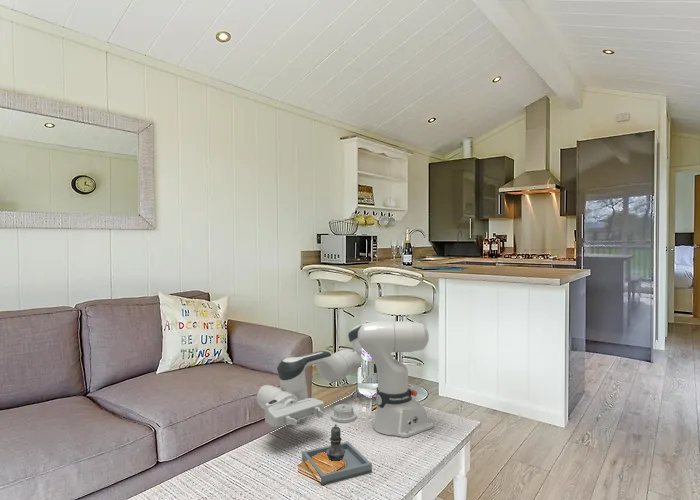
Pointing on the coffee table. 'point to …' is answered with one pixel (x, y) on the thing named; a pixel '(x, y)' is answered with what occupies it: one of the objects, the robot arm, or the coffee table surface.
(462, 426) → the coffee table surface
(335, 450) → the dark stone stupa
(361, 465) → the tray
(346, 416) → the mechanical component
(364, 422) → the coffee table surface
